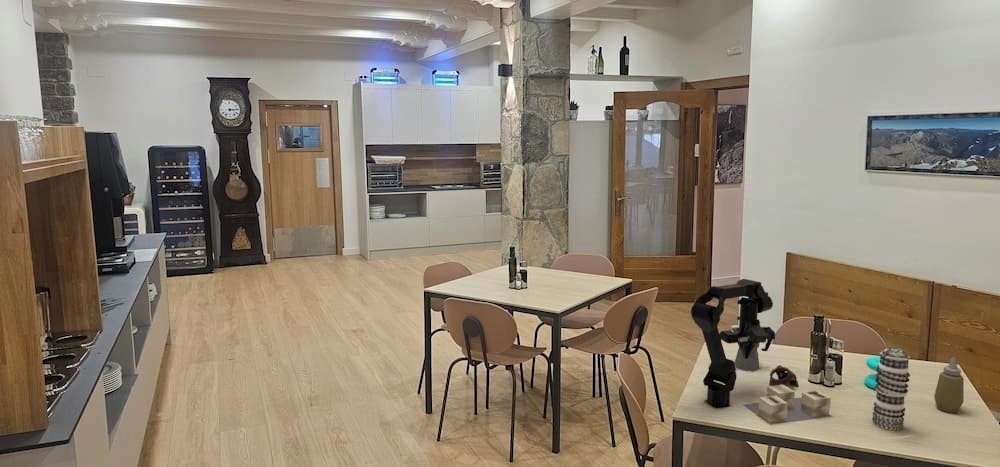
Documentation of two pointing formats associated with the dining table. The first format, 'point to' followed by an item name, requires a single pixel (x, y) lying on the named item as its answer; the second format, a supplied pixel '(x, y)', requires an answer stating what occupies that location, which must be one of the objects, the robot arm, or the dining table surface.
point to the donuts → (871, 379)
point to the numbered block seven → (815, 403)
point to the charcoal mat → (792, 414)
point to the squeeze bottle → (950, 388)
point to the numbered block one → (773, 409)
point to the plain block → (782, 394)
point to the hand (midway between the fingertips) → (745, 358)
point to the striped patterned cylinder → (891, 389)
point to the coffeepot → (753, 359)
